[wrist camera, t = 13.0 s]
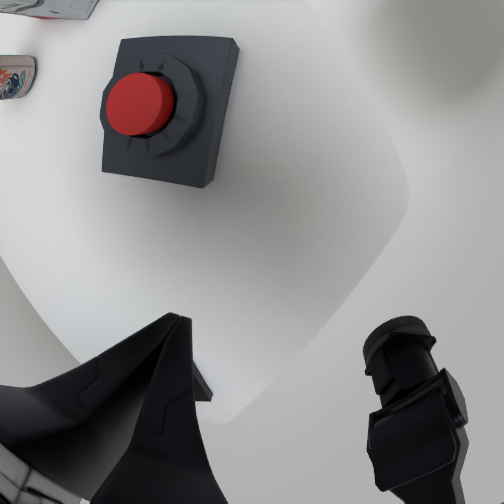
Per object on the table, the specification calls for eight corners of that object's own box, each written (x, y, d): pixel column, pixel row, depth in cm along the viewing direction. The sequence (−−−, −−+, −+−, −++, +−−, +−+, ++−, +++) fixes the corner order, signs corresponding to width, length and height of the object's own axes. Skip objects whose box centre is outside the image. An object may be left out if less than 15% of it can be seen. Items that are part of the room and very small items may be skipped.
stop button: (127, 76, 13) (111, 73, 11) (179, 77, 13) (167, 72, 11) (118, 131, 14) (102, 133, 13) (169, 136, 14) (156, 138, 13)
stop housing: (138, 46, 15) (106, 34, 11) (239, 48, 15) (227, 28, 11) (120, 165, 19) (86, 177, 15) (213, 180, 19) (194, 196, 15)
